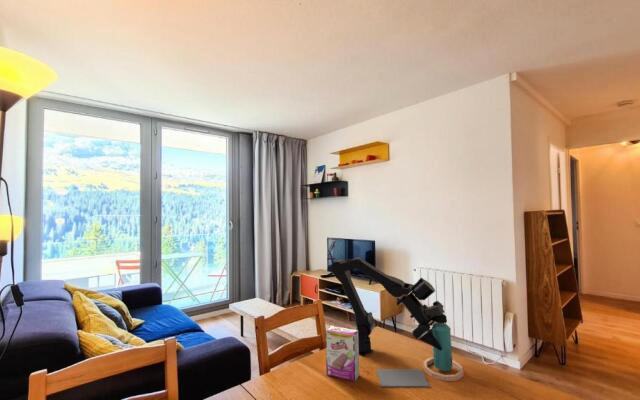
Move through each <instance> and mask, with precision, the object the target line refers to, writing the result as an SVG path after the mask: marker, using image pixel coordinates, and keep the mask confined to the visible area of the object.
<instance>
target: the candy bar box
mask: <svg viewBox="0 0 640 400" xmlns="http://www.w3.org/2000/svg"><path fill="white" fill-rule="evenodd" d="M325 359H326V362H325V363H326V364H325V365H326V366H325V367H326V370H325V371H326V375H327V376H329V377H334V378H338V379H343V380H345V381H351V382H356V381H357V380H358V377H359V376H360V355H359V342H358V330H356V329H355V328H354V329H353V328H352V329H351V328H346V327H341V326H336V325H329V326H328V327H327V328H326V329H325Z"/></svg>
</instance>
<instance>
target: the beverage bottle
mask: <svg viewBox="0 0 640 400" xmlns="http://www.w3.org/2000/svg"><path fill="white" fill-rule="evenodd" d="M443 314H444V313H443ZM443 314H442V315H440V316H435V321H436V322H438V323H435V324H434V325H432V326H431V329H433V335H434V336H435V338H436V339H437V341H438V342H439V344H440V345H441V347H442V350H438V349H437V348H435V347H433V346H432V351H433V353H432V355H433V357H434V363H433V365H434V367H435V368H436V369H438V370H439V371H445V372H449V371H452V369H453V366H452V363H453V362H452V360H453V350H452V349H453V348H452V339H451V338H452V337H451V335H452V334H451V333H452V332H451V327H450V326H449V325H448V324H447V323H448V320H447V318H448V317H447V315H445V314H444V315H443Z"/></svg>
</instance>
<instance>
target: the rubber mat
mask: <svg viewBox="0 0 640 400" xmlns="http://www.w3.org/2000/svg"><path fill="white" fill-rule="evenodd" d="M376 372H377V377H378V380H379V384H380V387H381V388H430V387H431V386H430V384H429V382H428V380H427V379H426V376H425V374H424V373H423V370H422V369H420V368H419V369H417V368H414V369H411V368H410V369H408V368H407V369H406V368H405V369H403V368H401V369H400V368H395V369H394V368H392V369H391V368H388V369H387V368H386V369H385V368H383V369H382V368H381V369H380V368H379V369H378V368H377V369H376Z"/></svg>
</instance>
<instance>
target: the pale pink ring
mask: <svg viewBox="0 0 640 400" xmlns="http://www.w3.org/2000/svg"><path fill="white" fill-rule="evenodd" d="M452 362H453V363H452V367H454V368H455V369H457V370H458V372H456V373H455V374H442V373H439V372H435V371H433V370H432V369H431V368H429V367H428V366H429V365H431V364H434V356H433V357H428V358H427V359H425V360H424V361H423V368H424V369H423V371H424V372H425V373H426V374H427V375H429V376H430V377H431V378H434V379H437V380H439V381H444V382H454V381H455V382H456V381H459V380H460V379H462V378H463V377H464V369H463V367H462V365H461V364H460V363H458V362H457V361H455V360H454V359H452Z"/></svg>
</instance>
